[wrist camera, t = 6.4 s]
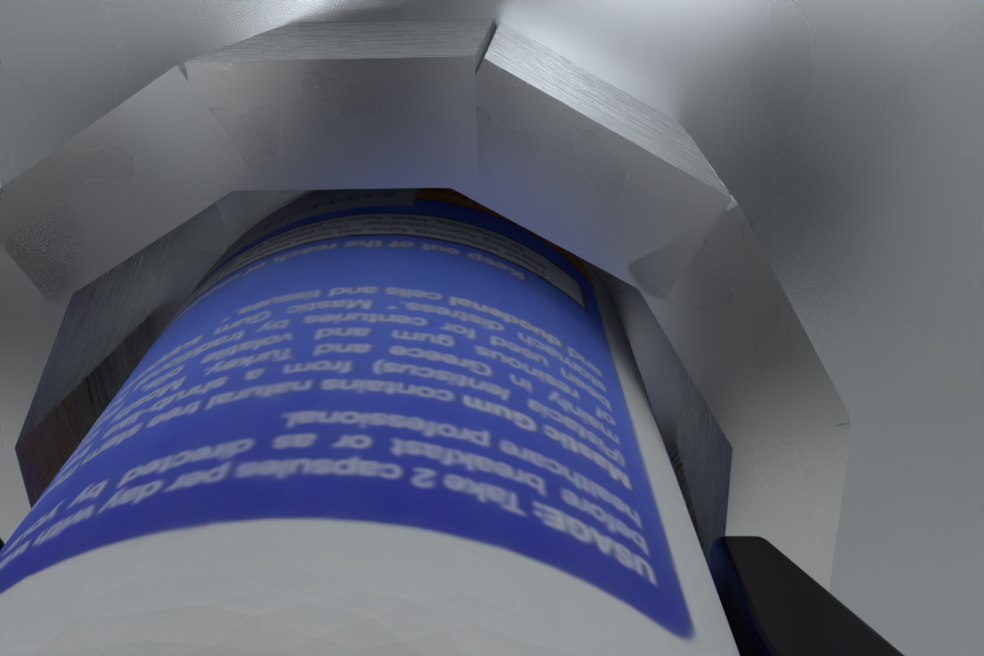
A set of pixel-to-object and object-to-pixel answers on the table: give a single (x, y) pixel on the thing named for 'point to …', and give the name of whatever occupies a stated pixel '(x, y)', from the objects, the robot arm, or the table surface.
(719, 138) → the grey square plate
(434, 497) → the pill bottle
